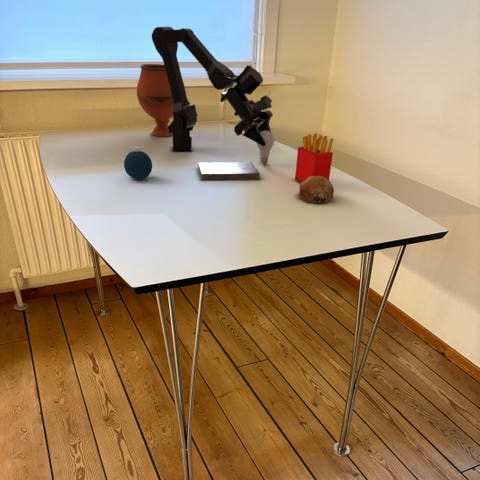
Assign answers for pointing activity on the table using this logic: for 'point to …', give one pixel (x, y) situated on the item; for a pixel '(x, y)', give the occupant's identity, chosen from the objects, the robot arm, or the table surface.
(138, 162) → the christmas ornament
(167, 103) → the goblet
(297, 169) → the french fries container
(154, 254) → the table surface
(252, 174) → the walnut board
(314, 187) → the bread roll
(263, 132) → the lightbulb
